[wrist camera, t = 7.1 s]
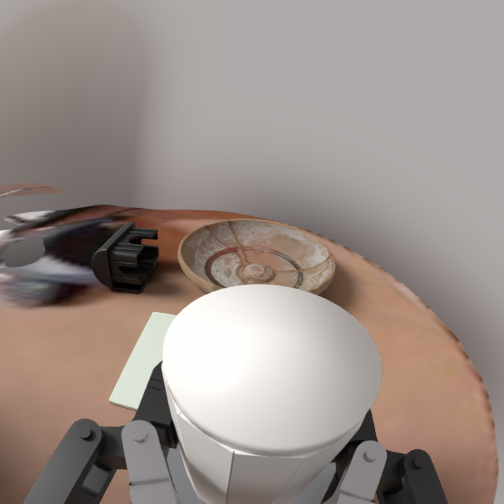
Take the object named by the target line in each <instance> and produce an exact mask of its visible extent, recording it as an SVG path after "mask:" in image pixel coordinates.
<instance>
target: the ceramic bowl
mask: <svg viewBox="0 0 504 504" xmlns="http://www.w3.org/2000/svg"><path fill="white" fill-rule="evenodd" d="M178 260H179V263H180V266H181V268H182V270H183V272H184V273H185V274H186V276H187V277H188V278H189V279H190V280H191V281H192V282H193V283H194V284H195V285H196V286H197V287H198V288H200V289H201V290H203V291H204V292H206V293H207V294H209V293H211V292H214V291H217V290H220V289H224V288H229V287H233V286H240V285H252V284H267V285H278V286H285V287H290V288H295V289H299V290H303V291H306V292H309V293H312V294H315V295H319V294H321V293H322V292H323V291H324V290H325V289H326V288H327V287H328V286H329V285H330V283H331V282H332V280H333V278H334V276H335V272H336V261H335V258H334V256H333V254H332V253H331V251H330V250H329V249H328V247H327V246H326V245H325V244H323V243H322V242H321V241H320V240H318V239H317V238H315V237H313V236H312V235H310V234H308V233H306V232H304V231H301V230H299V229H296V228H293V227H290V226H287V225H284V224H280V223H276V222H271V221H265V220H257V219H232V220H224V221H218V222H214V223H210V224H207V225H203V226H201V227H199V228H197V229H195V230H193V231H191V232H190V233H189V234H187V235H186V236H185V237H184V239H183V240H182V241H181V243H180V245H179V249H178Z"/></svg>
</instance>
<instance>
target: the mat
mask: <svg viewBox="0 0 504 504" xmlns="http://www.w3.org/2000/svg"><path fill="white" fill-rule="evenodd" d="M167 460H168V464H169V467H170V470H171V474H172V477H173V480H174V483H175V486H176V489H177V492H178V495H179V498H180V500H181V503H182V504H207V503H205V502H204V501H202V500H201V499H199V498H198V497H197V495H196V493H195V490H194V488H193V486H192V484H191V482H190V479H189V477H188V475H187V472H186V469H185V466H184V462H183V459H182V455H181V452H180V448H179V444H178V445H177V449H173V448H170V449H169V453H168V457H167ZM335 469H336V465H335V463H329V464H328V465H327V466H326V467H325V468H324V470H323V471H322V472H321V473H320V474H319V475H318V476H317V477H316V478H315V479H314V480H313V481H312V482H311V483H310V484H309V485H308V486H307V487H306V488H305V489H304V490H302V491H301V492H300V493H299V494H298V495H297V496H296V497H295V498H294V499H293V500H292V501H291V502H289V503H288V504H318V502H319V500H320V498H321V496H322V494H323V492H324V491H325V489H326V487H327V484H328V482H329V480H330V478H331V476H332V474H333V472H334V470H335ZM131 504H132V502H131Z"/></svg>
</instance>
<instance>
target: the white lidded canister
mask: <svg viewBox="0 0 504 504" xmlns="http://www.w3.org/2000/svg"><path fill="white" fill-rule="evenodd" d="M161 368H162V374H163V379H164V384H165V389H166V394H167V398H168V403H169V408H170V412H171V416H172V420H173V424H174V428H175V432H176V436H177V440H178V444H179V448H180V452H181V455H182V459H183V462H184V466H185V469H186V472H187V475H188V477H189V479H190V482H191V484H192V486H193V488H194V490H195V493H196V495H197V497H198V498H199V499H201V500H202V501H204V502H205V503H207V504H288V503H289V502H291V501H292V500H293V499H294V498H295V497H296V496H297V495H298V494H299V493H300V492H301V491H302V490H304V489H305V488H306V487H307V486H308V485H309V484H310V483H311V482H312V481H313V480H314V479H315V478H316V477H317V476H318V475H319V474H320V473H321V472H322V471H323V470H324V468H325V467H326V466H327V465H328V464H329V463H330V462H331V461H332V460H333V459H334V458H335V457H336V455H337V454H338V453H339V452H340V451H341V450H342V449H343V448H344V446H345V445H346V444H347V443H348V442H349V440H350V439H351V438H352V437H353V436H354V434H355V433H356V432H357V431H358V429H359V428H360V426H361V424H362V422H363V420H364V418H365V415H366V413H367V412H368V410H369V409H370V407H371V406H372V405H373V403H374V401H375V399H376V397H377V395H378V392H379V389H380V385H381V379H382V364H381V359H380V355H379V352H378V349H377V347H376V344H375V342H374V341H373V339H372V337H371V336H370V334H369V333H368V332H367V330H366V329H365V328H364V326H363V325H362V324H361V323H360V322H359V321H358V320H357V319H356V318H354V317H353V316H352V315H351V314H350V313H348V312H347V311H345V310H344V309H342V308H341V307H340V306H338V305H336V304H334V303H333V302H331V301H329V300H327V299H324V298H322V297H320V296H318V295H315V294H312V293H309V292H306V291H303V290H299V289H295V288H290V287H285V286H278V285H267V284H252V285H240V286H233V287H229V288H224V289H220V290H217V291H214V292H211V293H209V294H207V295H204V296H202V297H200V298H199V299H197V300H195V301H193V302H192V303H191V304H189V305H188V306H187V307H185V308H184V309H183V310H182V311H181V312H180V313H179V314H178V315H177V317H176V318H175V319H174V320H173V322H172V323H171V325H170V327H169V329H168V331H167V334H166V337H165V340H164V345H163V363H162V365H161Z"/></svg>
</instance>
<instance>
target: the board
mask: <svg viewBox="0 0 504 504" xmlns="http://www.w3.org/2000/svg"><path fill="white" fill-rule="evenodd" d="M176 317H177V315H171V314H165V313H159V312H153V313H152V315H151V317H150V319H149V321H148V323H147V325H146V326H145V328H144V330H143V332H142V334H141V336H140V338H139V340H138V342H137V344H136V346H135V348H134V350H133V352H132V354H131V356H130V358H129V360H128V362H127V364H126V366H125V368H124V370H123V372H122V374H121V376H120V378H119V380H118V382H117V384H116V386H115V388H114V391H113V393H112V395H111V397H110V399H109V402H110V403H112V404H115V405H119V406H122V407H125V408H129V409H132V410H136V411H137V409H138V407H139V404H140V401H141V399H142V396H143V394H144V391H145V389H146V387H147V383H148V381H149V379H150V376H151V373H152V371H153V368H154V367H155V366H157V365H158V364H159V363H160V362H161V361H163V345H164V340H165V337H166V334H167V331H168V329H169V327H170V325H171V323H172V322H173V320H174V319H175V318H176Z"/></svg>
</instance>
